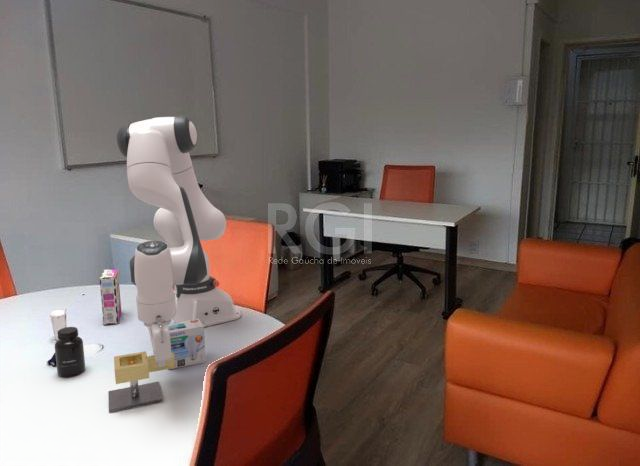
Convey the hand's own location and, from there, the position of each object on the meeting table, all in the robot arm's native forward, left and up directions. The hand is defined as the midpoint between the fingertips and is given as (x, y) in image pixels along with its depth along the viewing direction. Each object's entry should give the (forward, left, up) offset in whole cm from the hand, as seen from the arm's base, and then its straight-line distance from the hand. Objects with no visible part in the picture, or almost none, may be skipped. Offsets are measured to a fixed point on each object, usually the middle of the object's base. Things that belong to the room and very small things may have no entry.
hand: (160, 362), depth 122 cm
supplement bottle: (+21, -21, -8) cm, 31 cm away
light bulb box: (-8, -15, -8) cm, 19 cm away
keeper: (+6, 0, -8) cm, 10 cm away
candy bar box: (+10, -57, -8) cm, 59 cm away
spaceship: (+24, -28, -8) cm, 38 cm away
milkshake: (+25, -46, -8) cm, 53 cm away
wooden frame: (+4, 0, -2) cm, 4 cm away
